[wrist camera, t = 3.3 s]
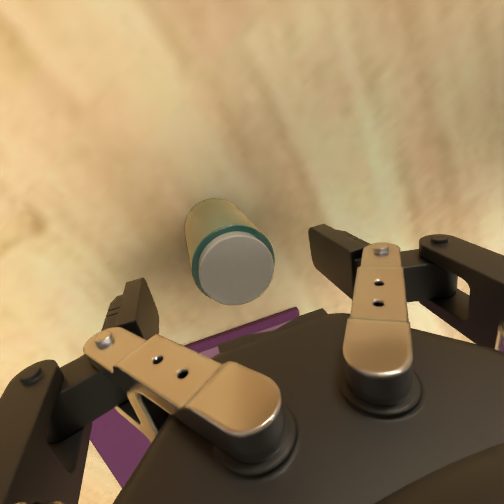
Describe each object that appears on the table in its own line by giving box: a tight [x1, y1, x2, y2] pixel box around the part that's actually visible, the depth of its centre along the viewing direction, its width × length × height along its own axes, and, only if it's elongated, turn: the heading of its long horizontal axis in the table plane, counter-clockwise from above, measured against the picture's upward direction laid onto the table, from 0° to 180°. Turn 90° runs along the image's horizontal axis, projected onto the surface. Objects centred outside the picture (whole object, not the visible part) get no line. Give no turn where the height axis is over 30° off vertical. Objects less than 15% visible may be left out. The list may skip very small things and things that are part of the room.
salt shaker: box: [185, 199, 275, 305], centre depth 18 cm, size 4×4×8 cm
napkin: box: [90, 307, 299, 488], centre depth 29 cm, size 20×20×1 cm
